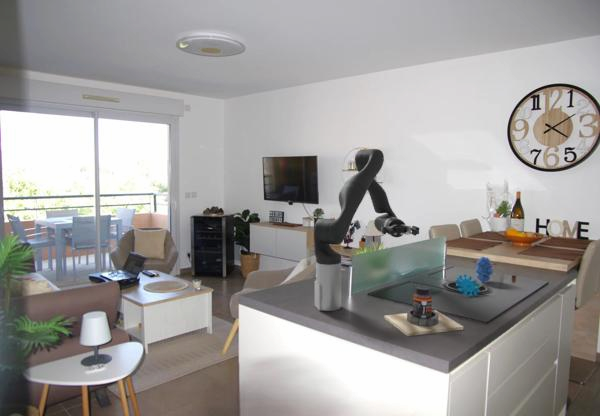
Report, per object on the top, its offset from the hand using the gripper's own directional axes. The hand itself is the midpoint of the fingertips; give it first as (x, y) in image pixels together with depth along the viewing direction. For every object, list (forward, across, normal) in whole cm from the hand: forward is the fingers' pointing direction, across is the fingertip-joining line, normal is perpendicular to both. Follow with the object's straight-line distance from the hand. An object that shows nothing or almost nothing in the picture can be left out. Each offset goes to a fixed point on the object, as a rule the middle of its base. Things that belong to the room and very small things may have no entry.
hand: (404, 232), depth 162 cm
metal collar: (+22, +1, +27) cm, 35 cm away
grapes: (-26, +44, +27) cm, 58 cm away
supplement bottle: (+22, +1, +26) cm, 34 cm away
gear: (-10, +30, +27) cm, 41 cm away
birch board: (+22, +1, +27) cm, 35 cm away
